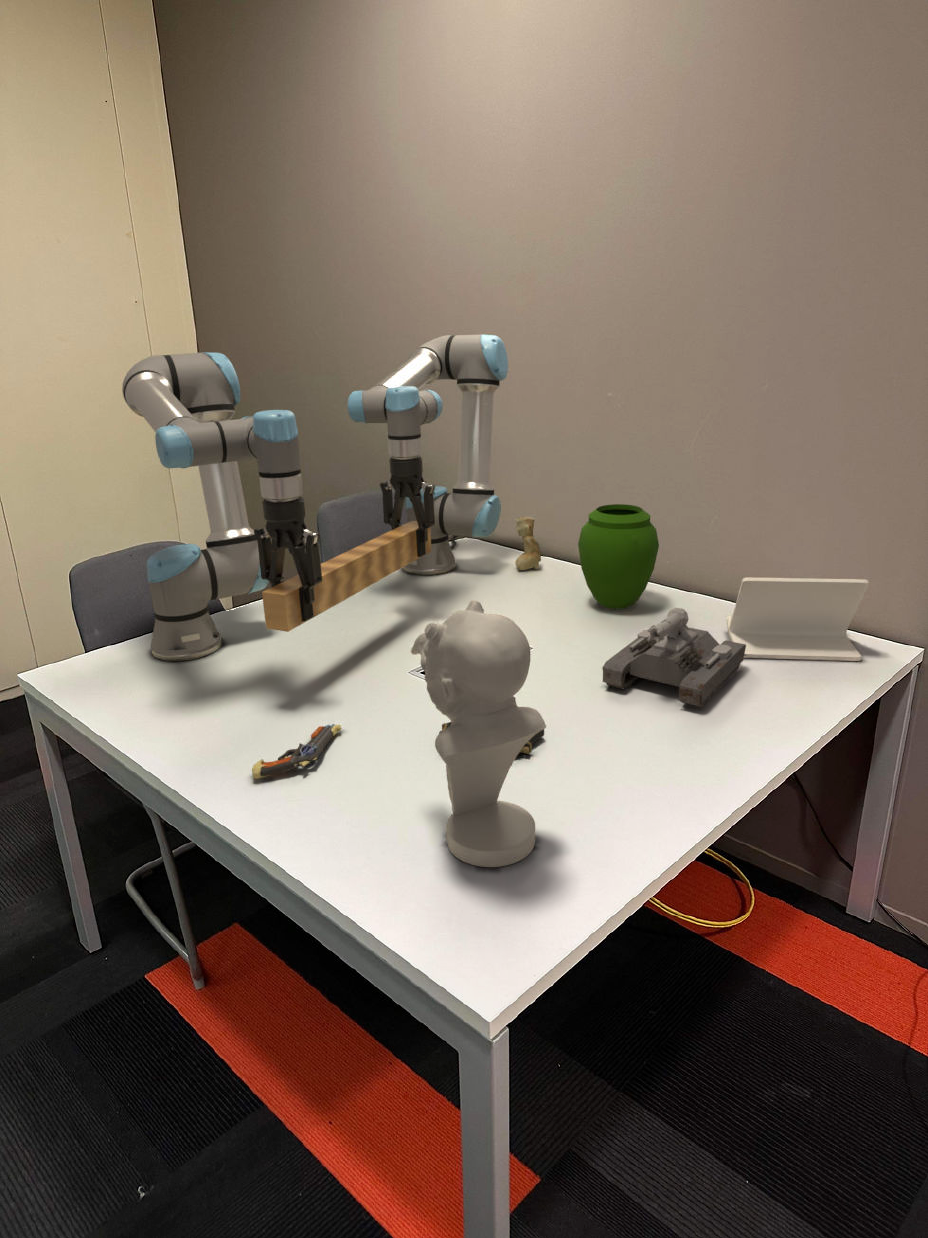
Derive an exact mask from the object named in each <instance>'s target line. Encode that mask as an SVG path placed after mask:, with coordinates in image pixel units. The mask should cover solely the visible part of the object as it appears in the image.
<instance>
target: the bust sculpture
mask: <svg viewBox="0 0 928 1238" xmlns="http://www.w3.org/2000/svg"><path fill="white" fill-rule="evenodd" d="M531 653H532V652H531V646H530V642H529V640H528V638H527V635H526V634H525V633H524V632H523V630H522V629H521V628H520V626H519V625H517V624H516V622H514V620H512V619H511V618H508V617H507V616H504V615H503V614H502V615H501V614H496V613H485V609H484V607H483V605H482V603H481V602H480V601H478V600H473V599H472V600H470V601H469V603H468V605H467V607H466V609H460V610H457V611H455V612H453V613H451V615H449V616H448V617H447V618H446V619H445V620H444V622H442V624H441V623H435V622H430V623H428V624H427V625H426V626H425V628H424V632H423V633H421V634H419V635H418V636H417V637H416V638H415V640H414V642H413V645H412V647H411V649H410V654H412V655H420V667H421V669H422V670H423V672H424V681H425V682H426V690H427V693H428V696H429V698H430V701H431V702H432V704H434V706H435V708H436V710H438V711H439V712H440V713H441V714H442V716H446V717H447V718H448V719H449V720H450V722H451V726H450V727H448V728H446V729H445V730H443V731H442V730H441V731H442V732H441V733H440V734H439V733H438V735H436V738H435V741H434V748H435V749H436V752H437V753H438V755H439V757H440V758H441V760H442V761H443V762H444V763H445V771H446V781H447V790H448V796H449V800H450V803H451V810H452V813H451V814H450V815H449V817H448V819H447V822H446V844H447V847H448V849H449V851H450V852H451V854H452V855H453V856H454V857H456V858H457V859H459V860H460V861H462V862H463V863H466V864H469V865H471V866H476V867H483V868H498V867H505V866H509V865H512V864H517V862H520V861H521V860H523V859H525V858H527V856H528V855H530V854H531V852H532V851H533V849H535V848H534V847H535V845H536V822H535V821H536V820H535V819H534V817H533V816H532V814H531V813H530V812H529V811H528V810H526V809H525V808H524V807H522V806H520V805H517V804H515V803H513V802H509V801H504V800H499V796H500V793H501V790H502V788H503V785H504V783H505V780H506V778H507V776H508V773H509V771H510V769H511V768H512V765H513V763H514V761H515V760H516V759H517V756H518V755H519V754H520V753H521V752H520V750H521V749H522V747H523V746H524V745H525V744H526V743H527V742H528V741H529V740H530V739H531V738H532V737H533V736H534V735H535V734H537V733H538V732H539V731H541V730H543V729H544V730H545V729H546V728H547V725H546V723H545V720H544V718H543V717H542V714H541V713H540V712H539V711H538V710H537V709H535V708H533V707H530V706H518V705H517V701H516V699H517V698H516V696H515V695H516V694H517V693H519V691H521V689H522V688H523V686H524V684H525V683H526V680H527V678H528V675H529V669H530V666H531V657H532V655H531ZM518 753H519V754H518Z"/></svg>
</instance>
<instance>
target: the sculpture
mask: <svg viewBox="0 0 928 1238" xmlns="http://www.w3.org/2000/svg"><path fill="white" fill-rule="evenodd" d="M515 521H516V527H515V532H516V533H518V536H519V537H521V540H522V546H523V550H524V551H523V553H522V554H521V555H519V556H518V557H517V558H516V559H515V562H514V564H515V567H516V569H518V570H520V571H526V570H530V569H532V568H533V569H534V570H539V568H540V563H541V561H542V555H541V554H542V553H541V550H540V549H541V548H540V544H539V542H538V541H537V540H536V539H535V536H534V527H535V519H534V518H533V517H531V516H519V517H516V518H515Z"/></svg>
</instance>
